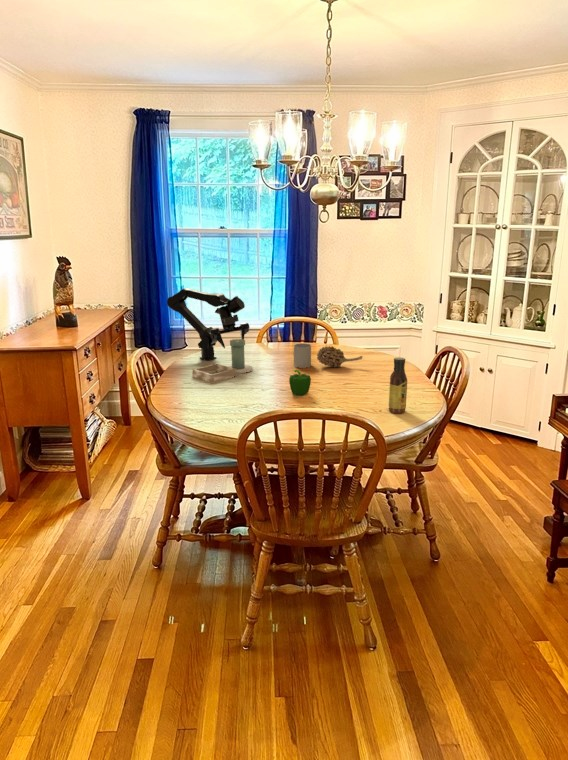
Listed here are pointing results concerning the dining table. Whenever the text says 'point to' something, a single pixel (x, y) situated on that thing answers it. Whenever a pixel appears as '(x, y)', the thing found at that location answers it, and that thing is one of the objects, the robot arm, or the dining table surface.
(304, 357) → the cup
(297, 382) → the bell pepper
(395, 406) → the sauce bottle
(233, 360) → the flower pot
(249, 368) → the saucer
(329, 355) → the pine cone
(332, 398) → the dining table surface
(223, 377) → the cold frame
